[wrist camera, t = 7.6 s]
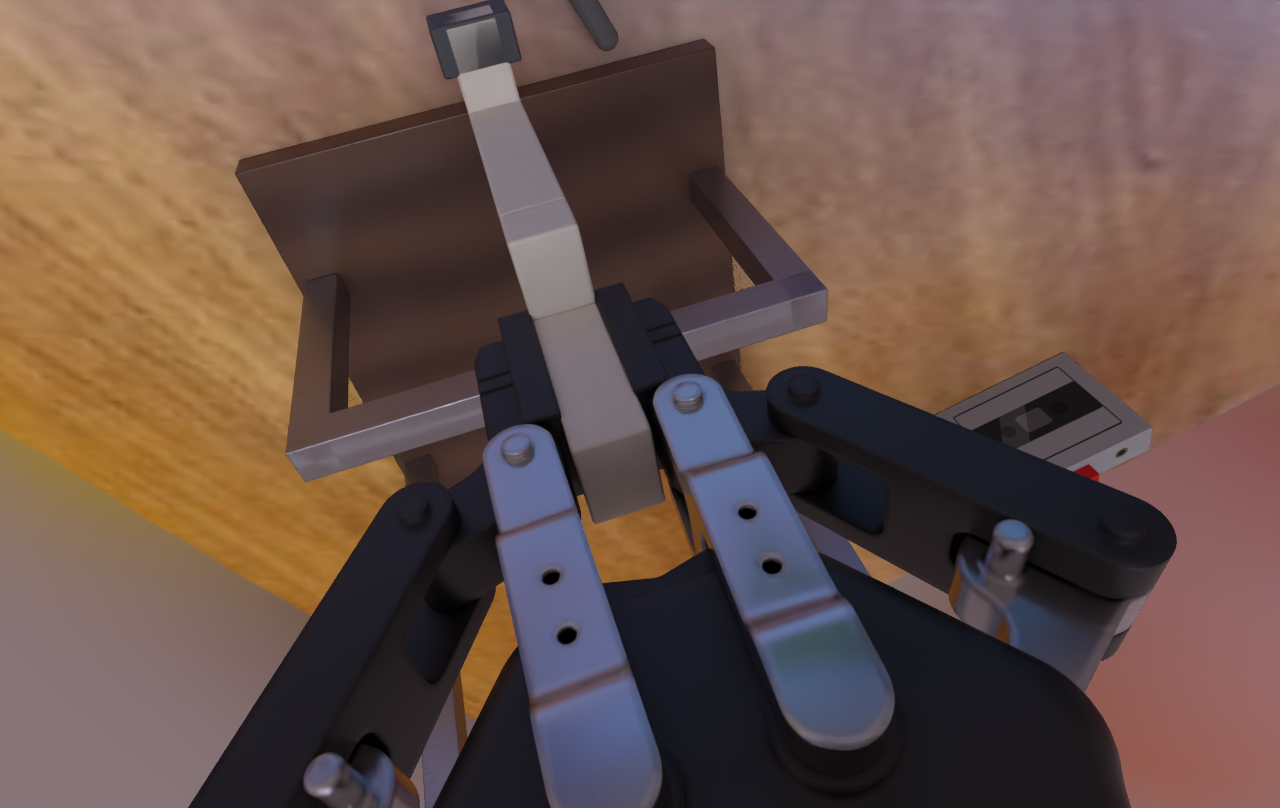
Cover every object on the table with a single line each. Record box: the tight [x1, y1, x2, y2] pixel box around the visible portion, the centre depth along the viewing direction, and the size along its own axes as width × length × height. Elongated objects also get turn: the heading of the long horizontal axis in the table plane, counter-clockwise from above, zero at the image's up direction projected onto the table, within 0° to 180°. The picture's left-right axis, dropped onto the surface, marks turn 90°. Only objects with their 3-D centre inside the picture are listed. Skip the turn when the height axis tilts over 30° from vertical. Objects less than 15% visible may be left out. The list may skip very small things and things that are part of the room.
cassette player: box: [935, 352, 1153, 482], centre depth 55 cm, size 16×3×10 cm, turn 112°
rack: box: [235, 39, 871, 808], centre depth 34 cm, size 26×22×24 cm
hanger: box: [426, 0, 665, 524], centre depth 18 cm, size 11×2×13 cm, turn 9°
